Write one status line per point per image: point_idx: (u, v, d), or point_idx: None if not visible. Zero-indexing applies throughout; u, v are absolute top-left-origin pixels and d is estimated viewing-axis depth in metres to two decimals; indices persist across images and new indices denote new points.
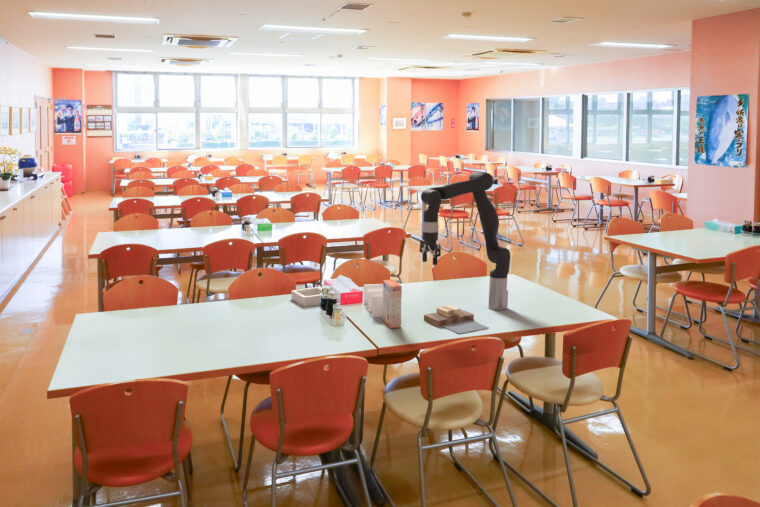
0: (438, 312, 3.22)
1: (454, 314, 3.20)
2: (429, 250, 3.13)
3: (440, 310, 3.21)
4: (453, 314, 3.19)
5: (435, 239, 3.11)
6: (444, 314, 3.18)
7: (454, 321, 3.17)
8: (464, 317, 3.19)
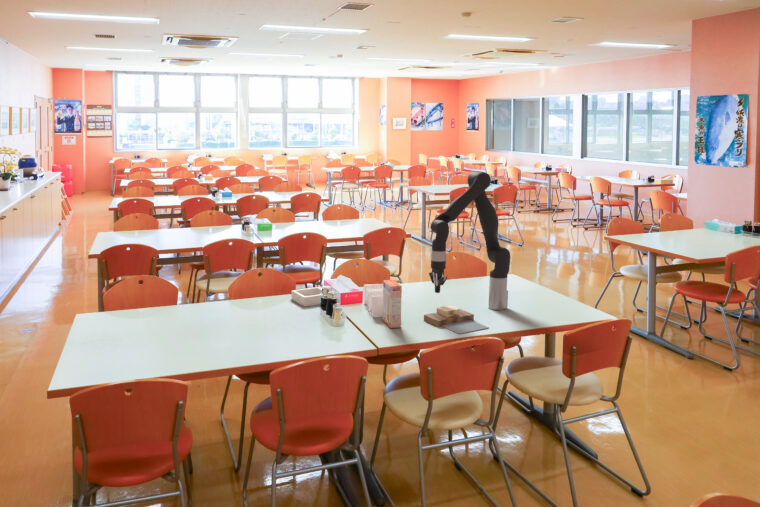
0: (438, 312, 3.22)
1: (454, 314, 3.20)
2: None
3: (440, 310, 3.21)
4: (453, 314, 3.19)
5: (443, 268, 3.23)
6: (444, 314, 3.18)
7: (454, 321, 3.17)
8: (464, 317, 3.19)
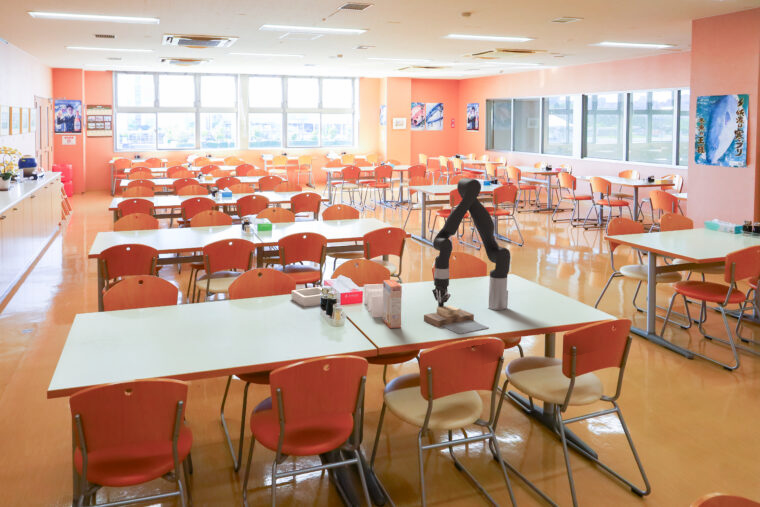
0: (438, 312, 3.22)
1: (454, 314, 3.20)
2: None
3: (440, 310, 3.21)
4: (453, 314, 3.19)
5: (446, 285, 3.22)
6: (444, 314, 3.18)
7: (454, 321, 3.17)
8: (464, 317, 3.19)
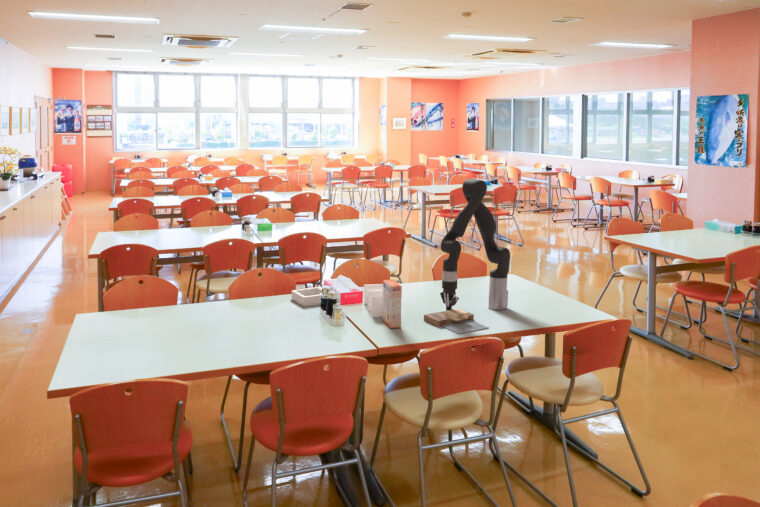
0: (447, 315, 3.17)
1: (463, 318, 3.14)
2: None
3: (449, 313, 3.15)
4: (462, 318, 3.14)
5: (454, 288, 3.16)
6: (453, 318, 3.13)
7: (454, 321, 3.17)
8: None
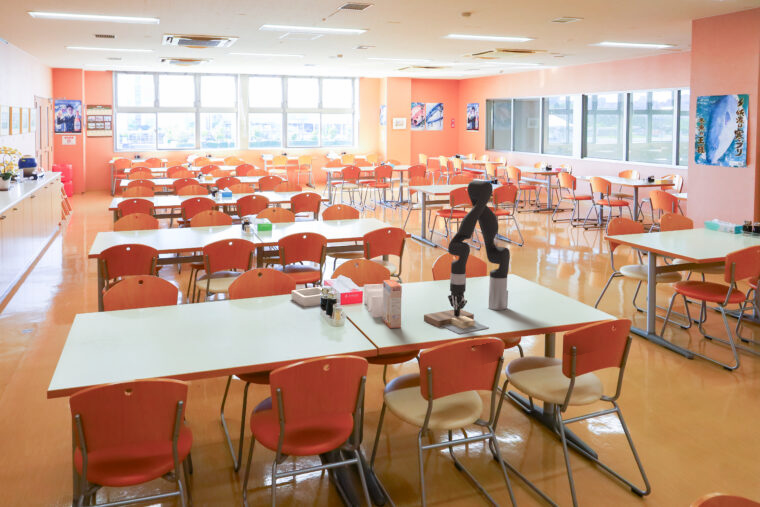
0: (453, 323, 3.13)
1: (469, 325, 3.11)
2: None
3: (455, 321, 3.12)
4: (468, 325, 3.10)
5: (463, 291, 3.10)
6: (459, 325, 3.09)
7: None
8: None
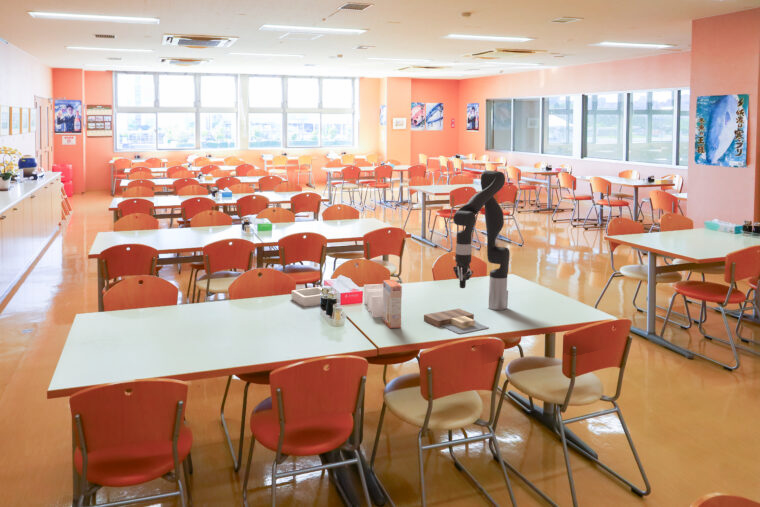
0: (453, 323, 3.13)
1: (469, 325, 3.11)
2: None
3: (455, 321, 3.12)
4: (468, 325, 3.10)
5: (468, 261, 3.05)
6: (459, 325, 3.09)
7: None
8: None
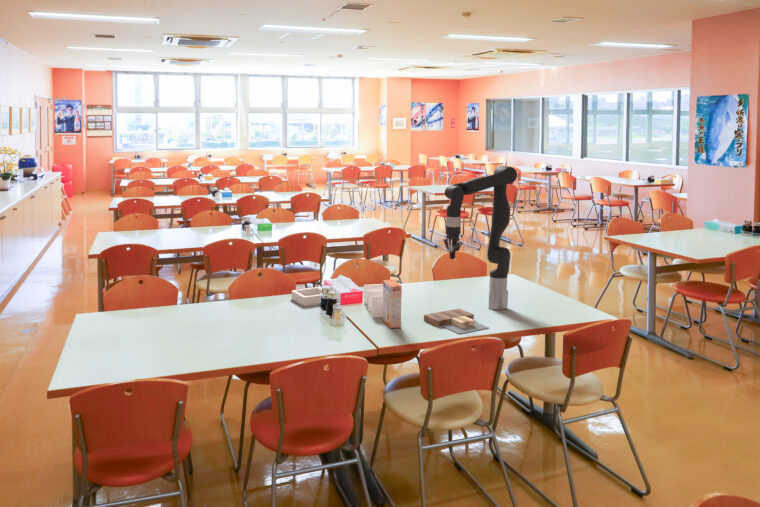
0: (453, 323, 3.13)
1: (469, 325, 3.11)
2: None
3: (455, 321, 3.12)
4: (468, 325, 3.10)
5: (458, 233, 3.23)
6: (459, 325, 3.09)
7: None
8: None
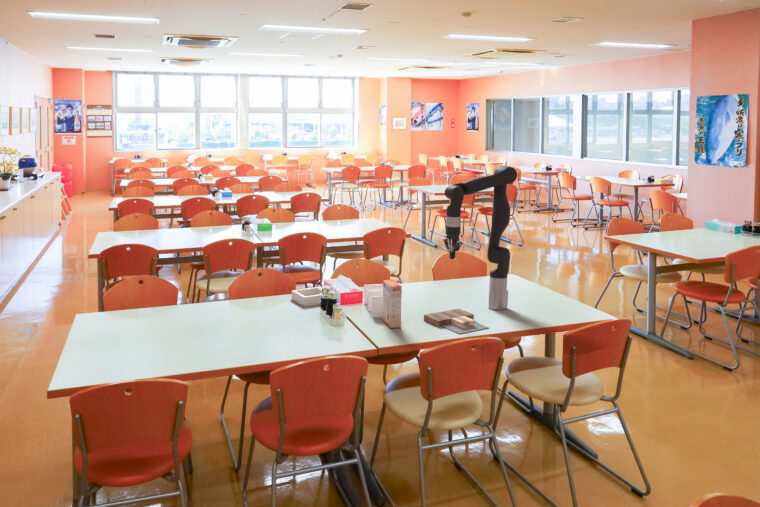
0: (453, 323, 3.13)
1: (469, 325, 3.11)
2: None
3: (455, 321, 3.12)
4: (468, 325, 3.10)
5: (458, 233, 3.23)
6: (459, 325, 3.09)
7: None
8: None
